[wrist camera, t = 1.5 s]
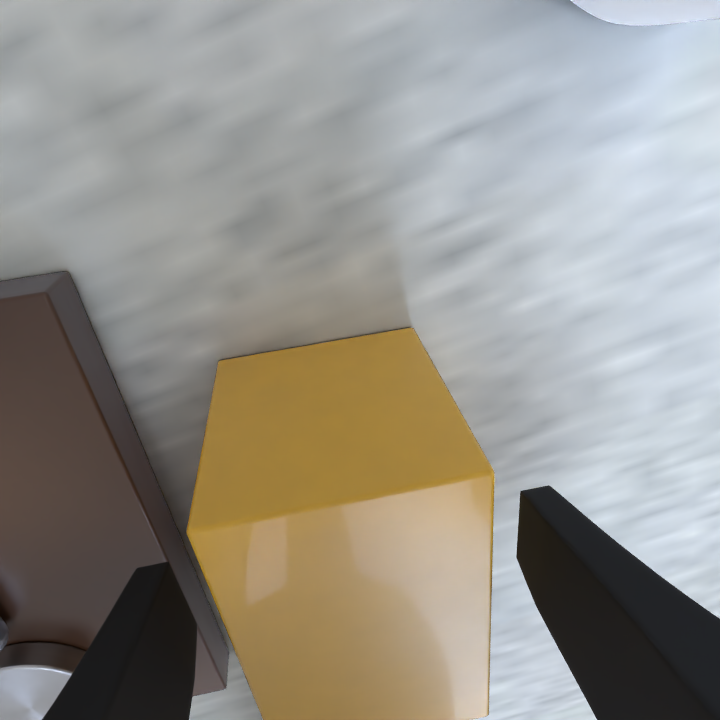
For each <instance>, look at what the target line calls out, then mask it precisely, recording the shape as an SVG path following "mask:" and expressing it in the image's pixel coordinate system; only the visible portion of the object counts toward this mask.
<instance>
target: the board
mask: <svg viewBox="0 0 720 720" xmlns="http://www.w3.org/2000/svg"><path fill="white" fill-rule="evenodd" d="M164 562H169V563H170V566H171V568H172V570H173V572H174V574H175V576H176V579H177V581H178V583H179V585H180V587H181V590H182V592H183V594H184V596H185V598H186V600H187V603H188V605H189V607H190V609H191V611H192V614H193V616H194V618H195V620H196V622H197V646H196V666H195V681H194V688H193V695H192V696H197V695H202V694H206V693H211V692H215V691H220V690H224V689H226V686H227V673H228V659H229V651H228V649H227V646H226V644H225V642H224V639H223V637H222V634H221V632H220V630H219V627H218V625H217V623H216V620H215V618H214V615H213V613H212V611H211V608H210V606H209V604H208V601H207V599H206V596H205V594H204V592H203V589H202V587H201V585H200V582H199V580H198V578H197V575H196V573H195V570H194V568H193V566H192V563H191V561H190V559H189V556H188V554H187V551H186V549H185V547H184V544H183V542H182V540H181V537H180V535H179V532H178V530H177V528H176V525H175V523H174V521H173V518H172V516H171V513H170V511H169V509H168V506H167V504H166V502H165V499H164V497H163V495H162V492H161V490H160V487H159V485H158V483H157V480H156V478H155V476H154V473H153V471H152V468H151V466H150V464H149V461H148V459H147V457H146V454H145V452H144V449H143V447H142V445H141V442H140V440H139V438H138V435H137V433H136V430H135V428H134V426H133V423H132V421H131V419H130V416H129V414H128V412H127V409H126V407H125V404H124V402H123V400H122V397H121V395H120V393H119V390H118V388H117V385H116V383H115V381H114V378H113V376H112V374H111V371H110V369H109V366H108V364H107V362H106V359H105V357H104V355H103V352H102V350H101V347H100V345H99V343H98V340H97V338H96V336H95V333H94V331H93V329H92V326H91V324H90V321H89V319H88V317H87V314H86V312H85V310H84V307H83V305H82V302H81V300H80V298H79V295H78V293H77V291H76V288H75V286H74V283H73V281H72V279H71V276H70V274H69V273H68V272H58V273H52V274H45V275H39V276H32V277H26V278H20V279H13V280H7V281H0V617H1V618H2V620H3V621H4V622H5V623H6V625H7V627H8V630H9V637H8V641H7V643H6V645H5V646H8V645H12V644H18V643H26V642H51V643H59V644H64V645H69V646H73V647H76V648H79V649H81V650H84V651H87V649H88V648H89V646H90V645H91V643H92V641H93V640H94V638H95V636H96V635H97V633H98V631H99V630H100V628H101V626H102V625H103V623H104V621H105V620H106V618H107V616H108V615H109V613H110V611H111V610H112V608H113V606H114V605H115V603H116V601H117V600H118V598H119V596H120V595H121V593H122V591H123V589H124V588H125V586H126V584H127V583H128V581H129V579H130V578H131V576H132V574H133V573H134V571H135V570H136V569H137V568H139V567H144V566H149V565H154V564H159V563H164Z"/></svg>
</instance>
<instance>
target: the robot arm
mask: <svg viewBox="0 0 720 720" xmlns="http://www.w3.org/2000/svg"><path fill="white" fill-rule="evenodd" d="M517 560H518V562H519V565H520V567H521V570H522V572H523V575H524V578H525V580H526V583H527V585H528V587H529V590H530V592H531V595H532V597H533V599H534V602H535V604H536V606H537V608H538V610H539V612H540V614H541V616H542V618H543V620H544V622H545V624H546V625H547V627H548V629H549V631H550V633H551V635H552V637H553V639H554V640H555V642H556V644H557V646H558V648H559V650H560V652H561V653H562V655H563V657H564V659H565V661H566V663H567V664H568V666H569V668H570V670H571V672H572V674H573V676H574V677H575V679H576V681H577V683H578V685H579V687H580V689H581V690H582V692H583V694H584V696H585V698H586V700H587V702H588V703H589V705H590V707H591V709H592V711H593V713H594V714H595V716H596V718H597V720H720V619H719V618H718V617H716V616H715V615H713V614H712V613H710V612H709V611H708V610H706V609H705V608H703V607H702V606H700V605H699V604H698V603H696V602H695V601H694V600H692V599H691V598H689V597H688V596H687V595H685V594H684V593H682V592H681V591H680V590H678V589H677V588H675V587H674V586H673V585H671V584H670V583H669V582H667V581H666V580H665V579H663V578H662V577H661V576H659V575H658V574H657V573H655V572H654V571H653V570H652V569H650V568H649V567H648V566H646V565H645V564H644V563H643V562H641V561H640V560H639V559H638V558H636V557H635V556H634V555H632V554H631V553H630V552H629V551H627V550H626V549H625V548H624V547H622V546H621V545H620V544H619V543H617V542H616V541H615V540H614V539H612V538H611V537H610V536H609V535H608V534H606V533H605V532H604V531H603V530H602V529H600V528H599V527H598V526H597V525H595V524H594V523H593V522H592V521H591V520H590V519H588V518H587V517H586V516H585V515H584V514H582V513H581V512H580V511H579V510H578V509H577V508H575V507H574V506H573V505H572V504H571V503H570V502H568V501H567V500H566V499H565V498H564V497H562V496H561V495H560V494H559V493H558V492H557V491H555V490H554V489H553V488H552V487H550V486H544V487H539V488H534V489H529V490H524V491H521V493H520V509H519V525H518V541H517ZM196 646H197V622H196V620H195V618H194V616H193V614H192V611H191V609H190V607H189V605H188V603H187V600H186V598H185V596H184V594H183V592H182V590H181V587H180V585H179V583H178V581H177V579H176V576H175V574H174V572H173V570H172V568H171V566H170V563H169V562H164V563H159V564H154V565H149V566H144V567H139V568H137V569H136V570H135V571H134V573H133V574H132V576H131V578H130V579H129V581H128V583H127V584H126V586H125V588H124V589H123V591H122V593H121V595H120V596H119V598H118V600H117V601H116V603H115V605H114V606H113V608H112V610H111V611H110V613H109V615H108V616H107V618H106V620H105V621H104V623H103V625H102V626H101V628H100V630H99V631H98V633H97V635H96V636H95V638H94V640H93V641H92V643H91V645H90V646H89V648H88V649H87V651H86V653H85V654H84V656H83V657H82V659H81V660H80V662H79V664H78V665H77V667H76V668H75V670H74V672H73V673H72V675H71V676H70V678H69V679H68V681H67V683H66V684H65V686H64V687H63V689H62V690H61V692H60V694H59V695H58V697H57V698H56V700H55V701H54V703H53V704H52V706H51V707H50V709H49V710H48V711H47V713H46V714H45V716H44V717H43V719H42V720H189V715H190V708H191V702H192V695H193V688H194V681H195V666H196Z"/></svg>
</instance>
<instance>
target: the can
mask: <svg viewBox="0 0 720 720" xmlns="http://www.w3.org/2000/svg"><path fill="white" fill-rule="evenodd" d="M570 1H572V2H573V3H574V4H576V5H577V6H578V7H580V8H581V9H583V10H584V11H586V12H588V13H589V14H591V15H593V16H595V17H597V18H599V19H601V20H604V21H607V22H611V23H615V24H621V25H631V26H653V25H665V24H676V23H685V22H694V21H703V20H711V19H720V0H570Z"/></svg>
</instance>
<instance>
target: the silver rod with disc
mask: <svg viewBox="0 0 720 720" xmlns="http://www.w3.org/2000/svg"><path fill="white" fill-rule="evenodd" d="M8 637H9V630H8V627H7V625H6V623H5V622H4V621H3V620H2V618H1V617H0V720H42V719H43V717H44V716H45V714H46V713H47V711H48V710H49V709H50V707H51V706H52V704H53V703H54V701H55V700H56V698H57V697H58V695H59V694H60V692H61V690H62V689H63V687H64V686H65V684H66V683H67V681H68V679H69V678H70V676H71V675H72V673H73V672H74V670H75V668H76V667H77V665H78V664H79V662H80V660H81V659H82V657H83V656H84V654H85V653H86V651H84V650H81V649H79V648H76V647H73V646H69V645H64V644H59V643H51V642H26V643H18V644H12V645H8V646H5V645H6V643H7V641H8Z"/></svg>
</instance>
